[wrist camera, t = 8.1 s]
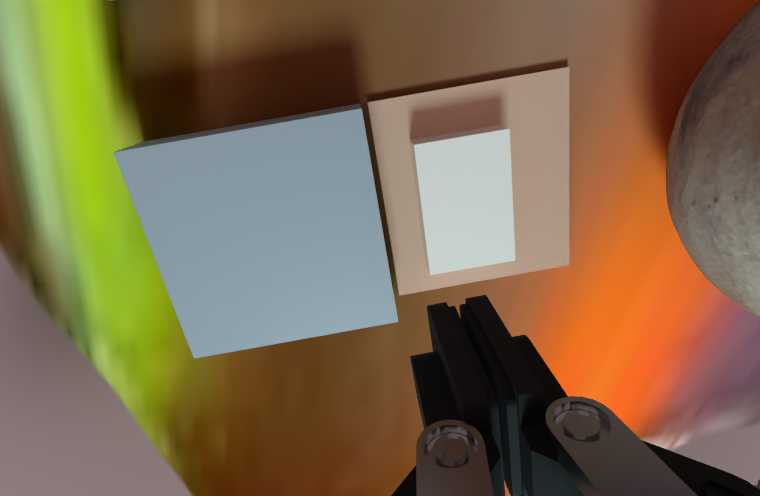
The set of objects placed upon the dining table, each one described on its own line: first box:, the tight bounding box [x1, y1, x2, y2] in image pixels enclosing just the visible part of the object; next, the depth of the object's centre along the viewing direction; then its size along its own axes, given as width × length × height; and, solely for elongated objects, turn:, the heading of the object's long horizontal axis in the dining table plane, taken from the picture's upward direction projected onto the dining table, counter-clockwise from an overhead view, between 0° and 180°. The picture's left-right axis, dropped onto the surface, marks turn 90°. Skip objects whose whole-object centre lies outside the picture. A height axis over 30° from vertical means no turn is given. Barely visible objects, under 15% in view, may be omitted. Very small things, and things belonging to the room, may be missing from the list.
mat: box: [367, 67, 570, 295], centre depth 31 cm, size 14×13×1 cm
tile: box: [409, 125, 515, 275], centre depth 30 cm, size 9×6×2 cm, turn 9°
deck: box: [114, 103, 398, 358], centre depth 29 cm, size 14×14×4 cm
